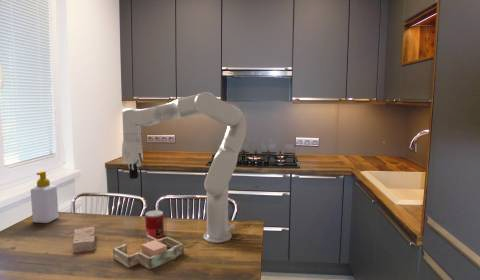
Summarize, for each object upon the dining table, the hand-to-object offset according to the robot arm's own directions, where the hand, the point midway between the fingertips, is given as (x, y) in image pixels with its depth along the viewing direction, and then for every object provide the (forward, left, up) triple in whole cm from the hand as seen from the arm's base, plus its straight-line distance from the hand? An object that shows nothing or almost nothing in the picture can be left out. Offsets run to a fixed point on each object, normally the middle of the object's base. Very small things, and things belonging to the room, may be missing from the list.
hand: (133, 178), depth 158 cm
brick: (+19, -10, -28) cm, 35 cm away
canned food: (-6, +6, -27) cm, 29 cm away
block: (+7, +25, -27) cm, 38 cm away
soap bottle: (+19, -52, -27) cm, 62 cm away
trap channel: (+7, +21, -27) cm, 35 cm away
